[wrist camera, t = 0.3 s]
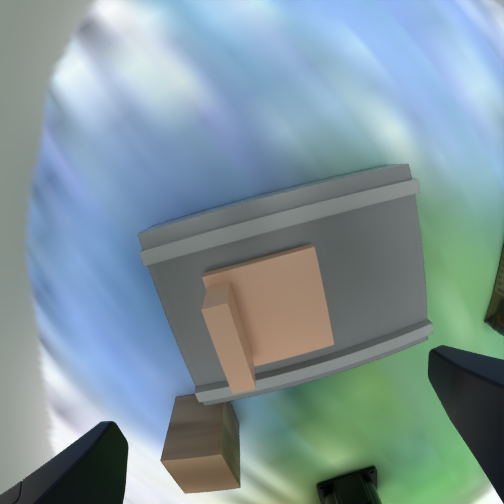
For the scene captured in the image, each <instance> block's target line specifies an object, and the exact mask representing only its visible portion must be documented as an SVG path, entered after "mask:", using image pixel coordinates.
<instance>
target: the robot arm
mask: <svg viewBox="0 0 504 504" xmlns="http://www.w3.org/2000/svg"><path fill="white" fill-rule="evenodd" d="M428 378H429V381H430V383H431V384H432V386H433V388H434V390H435V392H436V394H437V396H438V398H439V399H440V401H441V403H442V405H443V407H444V409H445V411H446V413H447V415H448V417H449V418H450V420H451V422H452V423H453V425H454V426H455V428H456V429H457V431H458V432H459V434H460V435H461V437H462V438H463V440H464V441H465V443H466V444H467V446H468V447H469V449H470V450H471V452H472V453H473V455H474V457H475V458H476V460H477V461H478V463H479V464H480V466H481V468H482V469H483V471H484V472H485V474H486V476H487V477H488V479H489V480H490V482H491V484H492V485H493V487H494V489H495V490H496V492H497V494H498V495H499V497H500V499H501V500H502V502H503V504H504V360H502V359H498V358H493V357H489V356H485V355H481V354H477V353H473V352H468V351H464V350H460V349H456V348H452V347H448V346H444V345H441V346H438V347H436V348H434V349H431V350H430V352H429V359H428ZM127 459H128V442H127V440H126V438H125V437H124V435H123V434H122V432H121V430H120V429H119V427H118V425H117V424H116V423H115V422H113V421H103V422H100V423H99V424H98V425H96V426H95V427H94V428H92V429H91V430H90V431H88V432H87V433H86V434H84V435H83V436H82V437H80V438H79V439H78V440H76V441H75V442H74V443H72V444H71V445H70V446H68V447H67V448H66V449H64V450H63V451H62V452H60V453H59V454H58V455H56V456H55V457H54V458H52V459H51V460H50V461H48V462H47V463H45V464H44V465H43V466H41V467H40V468H39V469H37V470H36V471H34V472H33V473H32V474H30V475H29V476H27V477H26V478H25V479H23V481H20V482H19V483H17V484H16V485H15V486H13V487H12V488H10V489H9V490H7V491H6V492H4V493H3V494H1V495H0V504H123V500H124V494H125V486H126V473H127ZM317 490H318V494H319V497H320V501H321V504H382V503H381V500H380V498H379V495H378V493H377V470H376V468H375V467H370V468H367V469H364V470H362V471H359V472H356V473H353V474H350V475H346V476H343V477H340V478H337V479H333V480H330V481H326V482H322V483H319V484H318V485H317Z"/></svg>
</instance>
